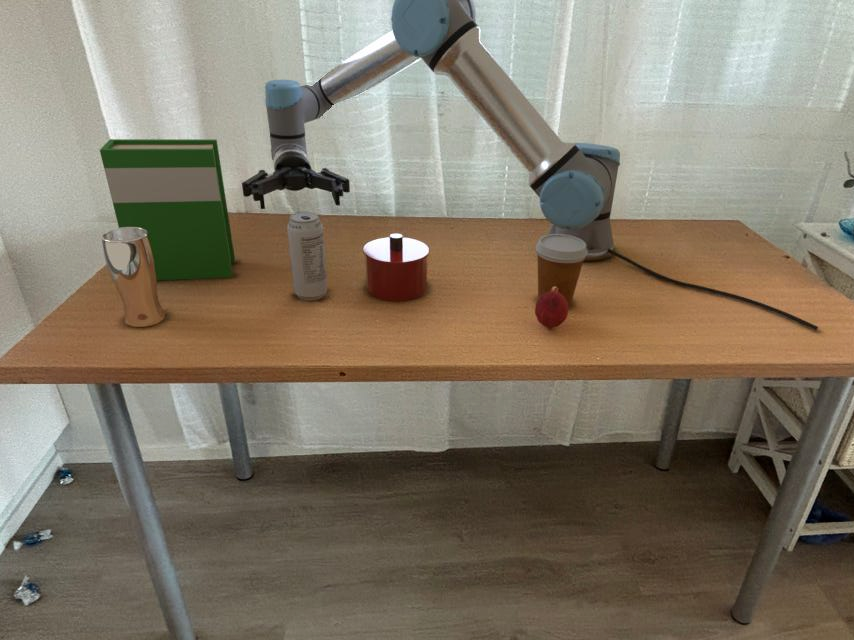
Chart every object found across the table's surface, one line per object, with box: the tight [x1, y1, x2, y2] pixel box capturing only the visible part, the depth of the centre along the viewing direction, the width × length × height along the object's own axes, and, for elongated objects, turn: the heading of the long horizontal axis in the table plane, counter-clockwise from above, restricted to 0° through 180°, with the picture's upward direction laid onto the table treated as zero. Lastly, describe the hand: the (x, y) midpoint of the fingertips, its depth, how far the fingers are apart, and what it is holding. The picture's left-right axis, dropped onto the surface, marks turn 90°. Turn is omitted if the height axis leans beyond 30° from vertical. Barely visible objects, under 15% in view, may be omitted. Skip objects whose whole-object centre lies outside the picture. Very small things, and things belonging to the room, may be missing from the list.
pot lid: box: [362, 233, 430, 265], centre depth 119 cm, size 12×12×4 cm
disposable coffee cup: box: [535, 234, 588, 308], centre depth 119 cm, size 10×10×12 cm
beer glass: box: [100, 227, 166, 328], centre depth 104 cm, size 7×7×15 cm
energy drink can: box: [286, 211, 328, 302], centre depth 115 cm, size 6×6×15 cm
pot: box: [364, 255, 428, 302], centre depth 122 cm, size 11×11×7 cm
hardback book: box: [99, 138, 236, 281], centre depth 118 cm, size 18×7×24 cm, turn 104°
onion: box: [534, 286, 570, 330], centre depth 111 cm, size 6×6×8 cm
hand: (300, 200), depth 119 cm, fingers open, 13 cm apart
